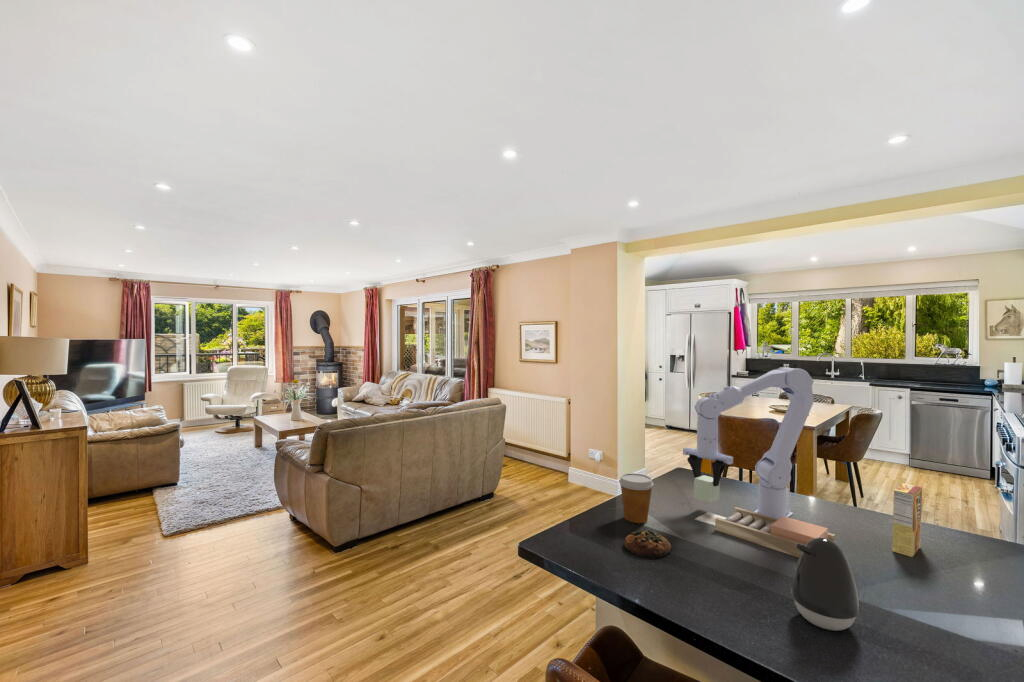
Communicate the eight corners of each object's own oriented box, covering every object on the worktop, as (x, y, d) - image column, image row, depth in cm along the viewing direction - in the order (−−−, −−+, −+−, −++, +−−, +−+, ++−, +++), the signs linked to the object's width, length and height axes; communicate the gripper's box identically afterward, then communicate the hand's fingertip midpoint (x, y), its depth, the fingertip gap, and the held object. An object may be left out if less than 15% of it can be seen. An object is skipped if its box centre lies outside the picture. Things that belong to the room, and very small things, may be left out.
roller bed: (711, 510, 136) (712, 500, 136) (834, 547, 113) (835, 534, 113) (690, 522, 127) (690, 510, 127) (818, 564, 104) (819, 550, 104)
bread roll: (636, 560, 105) (636, 538, 105) (616, 546, 116) (616, 525, 116) (680, 558, 107) (679, 536, 108) (656, 544, 118) (655, 524, 118)
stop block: (703, 494, 139) (703, 475, 139) (719, 499, 136) (720, 479, 136) (693, 498, 135) (694, 478, 136) (709, 503, 132) (710, 482, 132)
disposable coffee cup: (653, 515, 132) (654, 474, 132) (652, 528, 123) (653, 484, 123) (620, 511, 135) (620, 471, 135) (616, 523, 126) (617, 480, 126)
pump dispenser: (777, 606, 87) (778, 527, 87) (827, 604, 88) (828, 526, 88) (817, 641, 77) (818, 552, 77) (873, 638, 78) (875, 550, 78)
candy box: (899, 541, 116) (900, 482, 116) (921, 547, 113) (922, 486, 113) (891, 551, 111) (892, 489, 111) (914, 558, 108) (915, 494, 107)
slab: (783, 525, 120) (783, 516, 120) (827, 538, 112) (828, 528, 112) (770, 535, 114) (770, 525, 114) (816, 549, 106) (816, 538, 106)
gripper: (677, 435, 138) (677, 479, 138) (725, 444, 127) (725, 492, 127) (689, 432, 143) (689, 475, 143) (736, 440, 132) (736, 487, 132)
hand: (706, 483), depth 135 cm, fingers closed on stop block, 5 cm apart
